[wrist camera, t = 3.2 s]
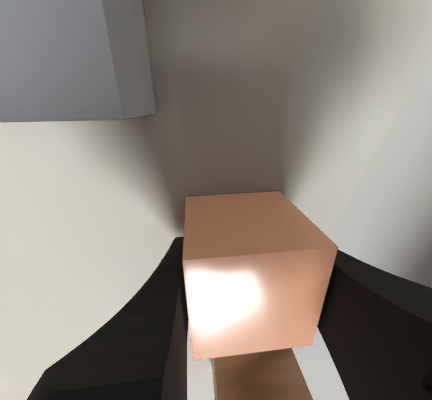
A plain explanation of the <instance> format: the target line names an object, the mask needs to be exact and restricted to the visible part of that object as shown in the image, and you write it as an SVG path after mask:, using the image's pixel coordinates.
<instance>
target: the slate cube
mask: <svg viewBox="0 0 432 400" xmlns="http://www.w3.org/2000/svg"><path fill="white" fill-rule="evenodd" d="M151 114H156V107H155V99H154V91H153V82H152V74H151V65H150V57H149V49H148V40H147V32H146V23H145V15H144V7H143V0H0V122H37V121H87V120H125V119H130V118H135V117H140V116H145V115H151Z"/></svg>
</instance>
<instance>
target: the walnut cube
mask: <svg viewBox="0 0 432 400" xmlns="http://www.w3.org/2000/svg"><path fill="white" fill-rule="evenodd" d="M212 370H213V382H214V394H215V400H313V399H312V396H311V394H310V391H309V389H308V387H307V384H306V382H305V379H304V377H303V375H302V372H301V370H300V367H299V365H298V363H297V360H296V358H295V355H294V353H293V351H292V348H286V349H279V350H271V351H263V352H256V353H248V354H240V355H233V356H225V357H217V358H212Z"/></svg>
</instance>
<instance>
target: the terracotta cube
mask: <svg viewBox="0 0 432 400" xmlns="http://www.w3.org/2000/svg"><path fill="white" fill-rule="evenodd" d="M337 250H338V246H337V245H336V244H334V243H333V242H332V241H331V240H330V239H329V238H328V237H327V236H326V235H325V234H324V233H323V232H322V231H321V230H320V229H319V228H318V227H317V226H316V225H314V224H313V223H312V222H311V221H310V220H309V219H308V218H307V217H306V216H305V215H304V214H303V213H302V212H301V211H300V210H299V209H298V208H297V207H296V206H294V205H293V204H292V203H291V202H290V201H289V200H288V199H287V198H286V197H285V196H284V195H283V194H282V193H281V192H280V191H272V192H254V193H237V194H220V195H202V196H186V204H185V223H184V242H183V270H184V280H185V290H186V300H187V309H188V319H189V329H190V339H191V349H192V359H193V361H194V360H202V359H210V358H217V357H225V356H233V355H240V354H248V353H256V352H263V351H271V350H279V349H286V348H294V347H302V346H309V345H312V344H313V340H314V337H315V333H316V329H317V325H318V322H319V318H320V314H321V310H322V307H323V303H324V299H325V295H326V291H327V288H328V284H329V280H330V276H331V273H332V269H333V265H334V261H335V258H336V254H337Z"/></svg>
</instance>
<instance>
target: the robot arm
mask: <svg viewBox="0 0 432 400" xmlns="http://www.w3.org/2000/svg"><path fill="white" fill-rule="evenodd" d="M183 242H184V237H176V238H175V239H174V240H173V242H172V244H171V246H170V248H169V250H168V251H167V253H166V255H165V256H164V258H163V259H162V261H161V262H160V264H159V265H158V267H157V268H156V270H155V271H154V272H153V274H152V275H151V276H150V278H149V279H148V280H147V281H146V283H145V284H144V285H143V286H142V287H141V289H140V290H139V291H138V292H137V293H136V294H135V295H134V296H133V298H132V299H131V300H130V301H129V302H128V303H127V304H126V305H125V306H124V307H123V308H122V309H121V310H120V311H119V312H118V313H117V314H116V315H115V316H113V317H112V318H111V319H110V320H109V321H108V322H107V323H106V324H104V325H103V326H102V327H101V328H100V329H99V330H97V331H96V332H95V333H94V334H93V335H91V336H90V337H89V338H88V339H87V340H85V341H84V342H83V343H81V344H80V345H79V346H77V347H76V348H75V349H73V350H72V351H71V352H69V353H68V354H67V355H65V356H64V357H63V358H61V359H60V360H59V361H57V362H56V363H55V364H53V365H52V366H51V367H49V368H48V369H46V370H45V371H44V373H43V375H42V376H41V378H40V379H39V381H38V382H37V384H36V385H35V387H34V388H33V390H32V392H31V393H30V395H29V397H28V399H27V400H187V332H188V321H189V319H188V309H187V300H186V290H185V280H184V270H183ZM317 327H318V329H319V331H320V333H321V335H322V337H323V340H324V342H325V344H326V346H327V348H328V350H329V352H330V355H331V357H332V359H333V362H334V364H335V366H336V368H337V371H338V373H339V375H340V378H341V380H342V383H343V385H344V387H345V390H346V392H347V395H348V397H349V400H432V288H430V287H427V286H424V285H421V284H418V283H415V282H412V281H409V280H406V279H404V278H401V277H398V276H395V275H393V274H390V273H388V272H385V271H383V270H380V269H378V268H376V267H373V266H371V265H369V264H366V263H364V262H362V261H360V260H358V259H356V258H354V257H352V256H350V255H348V254H346V253H344V252H342V251H340V250H337V254H336V258H335V261H334V265H333V269H332V273H331V276H330V280H329V284H328V288H327V291H326V295H325V299H324V303H323V307H322V310H321V314H320V318H319V322H318V325H317Z"/></svg>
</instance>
